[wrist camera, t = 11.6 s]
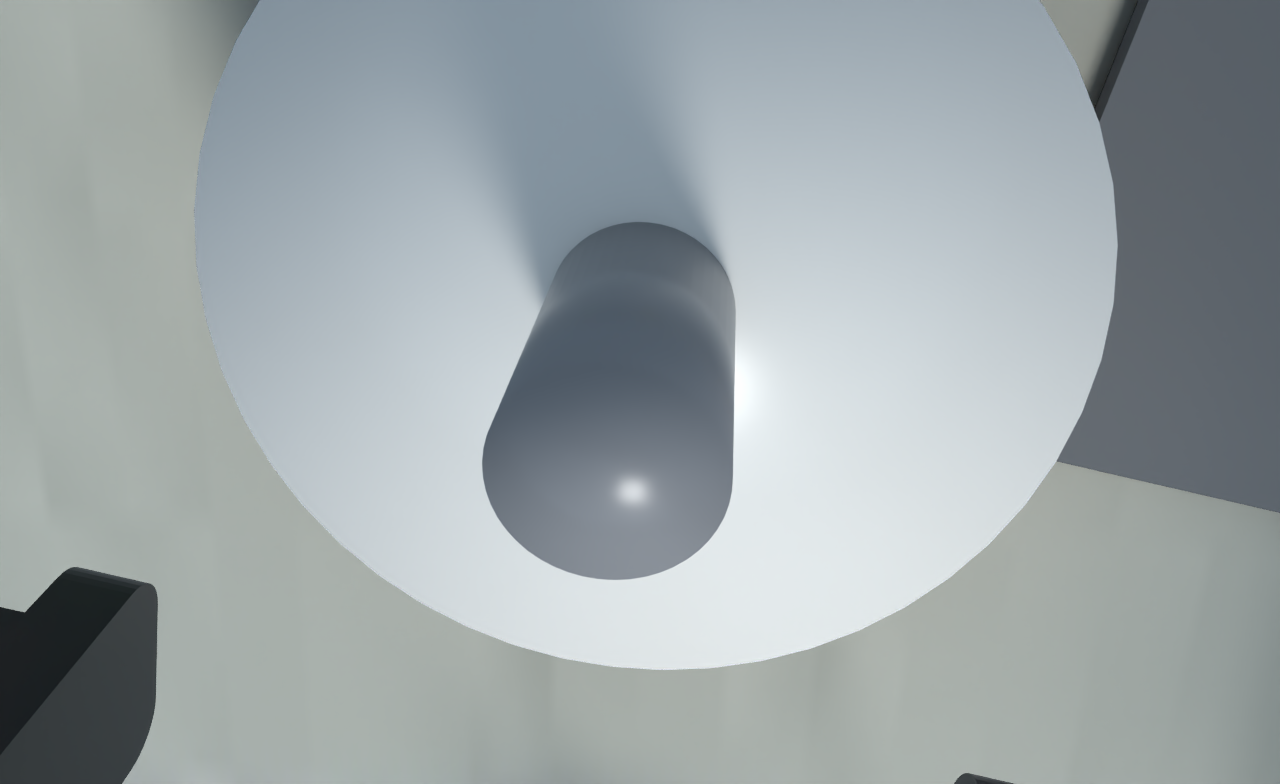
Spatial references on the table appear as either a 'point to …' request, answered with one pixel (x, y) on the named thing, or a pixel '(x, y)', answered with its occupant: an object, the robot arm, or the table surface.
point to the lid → (657, 301)
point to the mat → (1192, 255)
